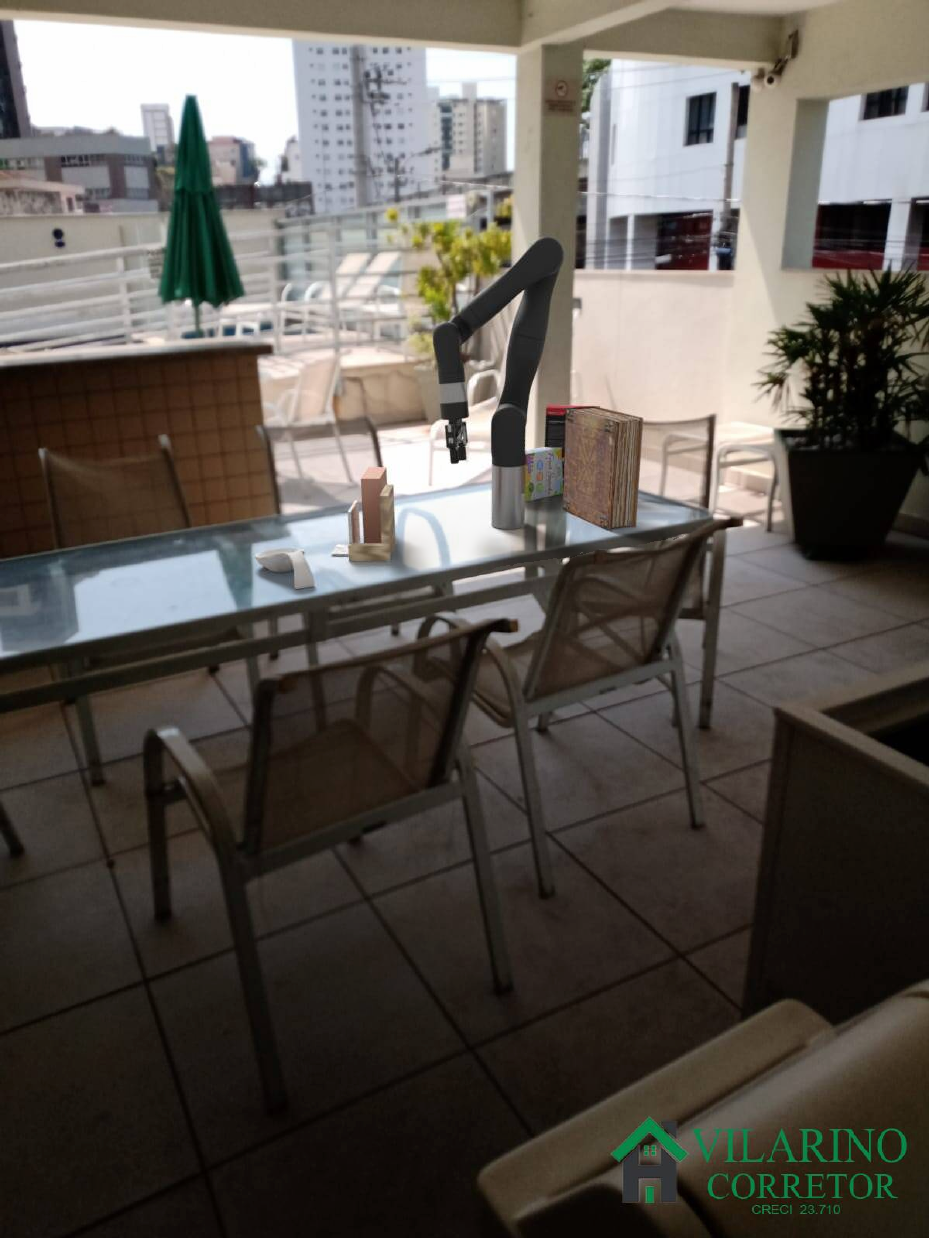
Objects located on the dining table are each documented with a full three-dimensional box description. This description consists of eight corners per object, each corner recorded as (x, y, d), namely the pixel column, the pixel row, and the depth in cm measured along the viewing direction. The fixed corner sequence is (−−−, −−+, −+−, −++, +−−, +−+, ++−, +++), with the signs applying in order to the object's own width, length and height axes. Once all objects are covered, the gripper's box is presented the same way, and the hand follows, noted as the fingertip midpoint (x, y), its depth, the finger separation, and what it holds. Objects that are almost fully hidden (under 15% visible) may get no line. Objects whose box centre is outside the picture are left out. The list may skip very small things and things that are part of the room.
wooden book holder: (395, 545, 234) (393, 484, 228) (389, 561, 221) (386, 497, 215) (357, 544, 234) (354, 484, 228) (348, 561, 221) (345, 497, 215)
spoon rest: (249, 565, 219) (247, 537, 216) (295, 558, 224) (293, 530, 222) (281, 593, 200) (279, 563, 197) (331, 585, 205) (329, 555, 203)
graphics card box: (595, 490, 290) (600, 404, 280) (596, 495, 283) (601, 407, 273) (543, 489, 291) (545, 403, 281) (542, 494, 285) (544, 407, 275)
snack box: (553, 490, 290) (555, 444, 284) (566, 493, 286) (567, 446, 280) (504, 501, 277) (505, 452, 272) (516, 504, 273) (517, 455, 268)
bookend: (360, 544, 234) (358, 499, 230) (353, 558, 223) (350, 511, 218) (338, 544, 234) (335, 499, 230) (330, 558, 223) (327, 511, 219)
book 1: (388, 532, 245) (386, 467, 238) (382, 547, 232) (379, 478, 225) (371, 532, 245) (368, 467, 239) (364, 547, 232) (360, 478, 226)
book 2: (636, 527, 248) (643, 418, 237) (608, 531, 245) (614, 420, 234) (588, 506, 270) (593, 405, 259) (562, 510, 267) (565, 407, 256)
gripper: (460, 401, 231) (466, 464, 235) (473, 398, 244) (478, 458, 248) (433, 403, 233) (438, 465, 237) (446, 400, 246) (452, 460, 250)
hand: (458, 462), depth 243 cm, fingers open, 8 cm apart
